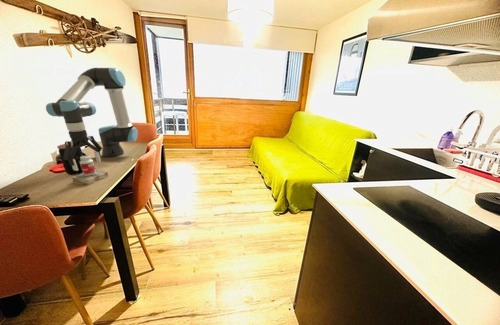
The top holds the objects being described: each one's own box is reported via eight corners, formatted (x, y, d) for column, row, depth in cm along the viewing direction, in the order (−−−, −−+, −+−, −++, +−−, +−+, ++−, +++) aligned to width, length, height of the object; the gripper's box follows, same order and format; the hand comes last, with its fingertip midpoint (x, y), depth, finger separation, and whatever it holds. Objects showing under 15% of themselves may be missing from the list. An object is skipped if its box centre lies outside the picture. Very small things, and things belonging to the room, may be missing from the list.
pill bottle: (81, 175, 117) (75, 157, 113) (92, 171, 123) (87, 154, 119) (88, 177, 115) (82, 158, 111) (99, 173, 120) (94, 155, 117)
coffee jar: (78, 175, 125) (69, 147, 119) (61, 175, 125) (51, 147, 119) (91, 168, 135) (83, 143, 129) (75, 168, 135) (67, 142, 129)
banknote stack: (93, 174, 127) (92, 169, 126) (108, 176, 124) (107, 171, 123) (73, 182, 116) (71, 176, 115) (89, 184, 113) (87, 179, 112)
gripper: (93, 125, 122) (102, 158, 130) (45, 134, 99) (59, 173, 107) (103, 126, 120) (112, 159, 128) (56, 135, 98) (70, 175, 105)
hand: (88, 165), depth 117 cm, fingers open, 13 cm apart
